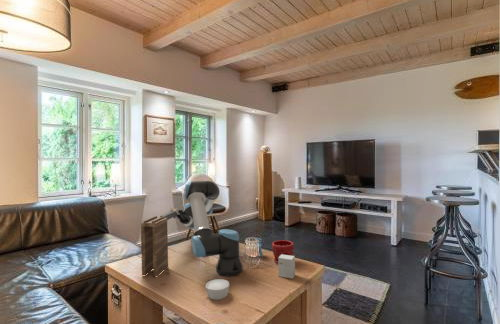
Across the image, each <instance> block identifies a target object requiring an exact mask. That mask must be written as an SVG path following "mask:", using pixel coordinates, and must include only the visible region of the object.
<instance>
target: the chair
mask: <svg viewBox="0 0 500 324" xmlns="http://www.w3.org/2000/svg"><path fill="white" fill-rule="evenodd" d="M252 238H257V239H256V240H258V241H259V242H257V244H259V252H258V253H260V256H261V257H263V251H262V243H261V242H262V238H259V237H256V236H254V237H252ZM261 257H260V258H261Z"/></svg>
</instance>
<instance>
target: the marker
mask: <svg viewBox="0 0 500 324" xmlns="http://www.w3.org/2000/svg"><path fill="white" fill-rule="evenodd" d="M178 209H179V210H181V208H178ZM177 215H179V214H178V213H176V212H175V209H174V210H172V211H170V210H169V211H167V212H166V213H164V214H161V215H160V217H162V216H165V218H167V221H169V220H170V219H174V218H173V217H175V216H177ZM160 217H159V218H160Z"/></svg>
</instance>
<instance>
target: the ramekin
mask: <svg viewBox="0 0 500 324" xmlns="http://www.w3.org/2000/svg"><path fill="white" fill-rule="evenodd" d="M229 288H230V282H229V281H228V280H226V279H223V278H222V279H221V278H217V279H215V278H214V279H212V280H209V281H208V282H206V284H205V289H206V294H207V297H208V298H209V299H211V300H214V301H215V300H216V301H219V300H223V299H225V298H226V297H227V296H228V294H229Z"/></svg>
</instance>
